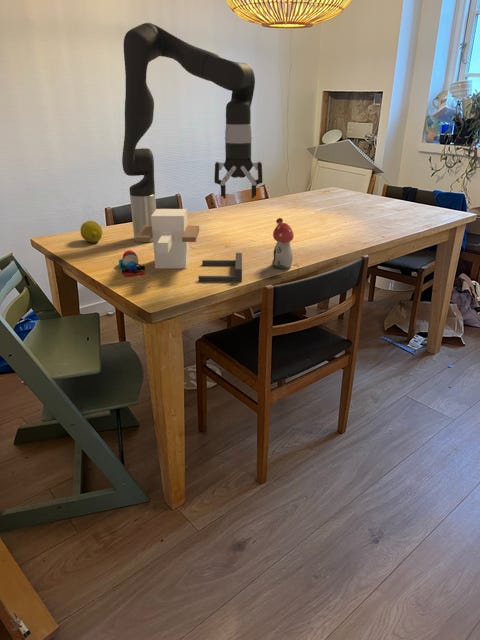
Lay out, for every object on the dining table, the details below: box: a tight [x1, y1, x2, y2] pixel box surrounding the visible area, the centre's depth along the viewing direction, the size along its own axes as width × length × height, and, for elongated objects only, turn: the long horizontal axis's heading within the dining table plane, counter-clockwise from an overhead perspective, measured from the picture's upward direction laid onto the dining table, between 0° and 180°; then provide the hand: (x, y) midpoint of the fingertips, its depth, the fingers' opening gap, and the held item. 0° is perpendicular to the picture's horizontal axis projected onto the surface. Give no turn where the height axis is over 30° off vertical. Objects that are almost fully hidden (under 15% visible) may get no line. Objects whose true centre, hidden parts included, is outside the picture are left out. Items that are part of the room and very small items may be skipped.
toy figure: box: [118, 249, 146, 277], centre depth 153 cm, size 8×5×15 cm
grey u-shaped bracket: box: [198, 252, 243, 283], centre depth 149 cm, size 13×16×4 cm
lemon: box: [80, 220, 103, 244], centre depth 180 cm, size 11×8×8 cm
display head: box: [135, 208, 200, 269], centre depth 149 cm, size 22×18×17 cm
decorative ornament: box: [271, 217, 294, 270], centre depth 153 cm, size 9×7×15 cm
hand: (238, 198), depth 144 cm, fingers open, 8 cm apart
